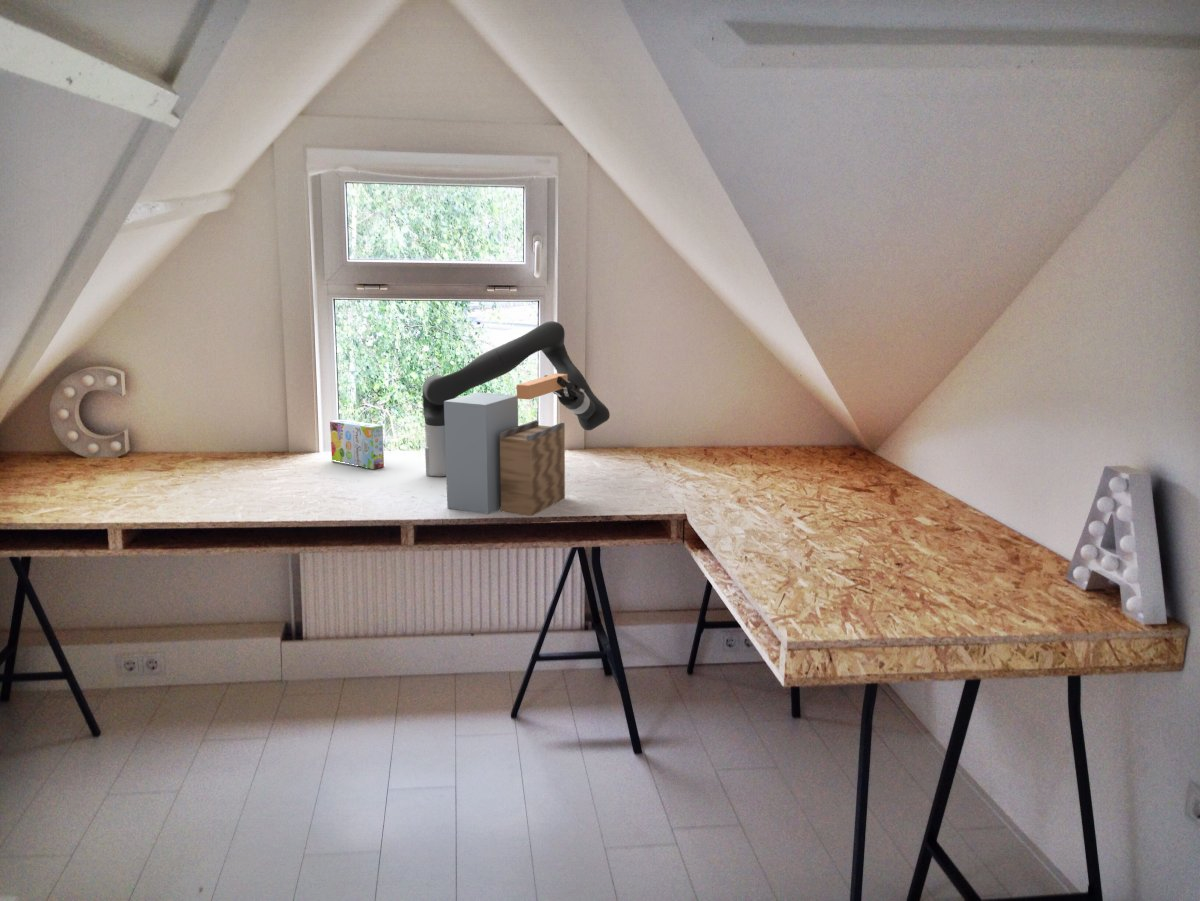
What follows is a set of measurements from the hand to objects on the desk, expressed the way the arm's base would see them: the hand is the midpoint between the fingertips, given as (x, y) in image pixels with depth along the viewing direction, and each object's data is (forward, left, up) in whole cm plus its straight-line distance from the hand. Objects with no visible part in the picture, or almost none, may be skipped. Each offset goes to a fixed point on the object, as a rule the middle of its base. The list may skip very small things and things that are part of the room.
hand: (551, 378), depth 284 cm
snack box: (-67, +45, -37) cm, 88 cm away
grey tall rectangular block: (-21, -8, -36) cm, 43 cm away
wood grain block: (-6, -10, -36) cm, 38 cm away
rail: (-3, -5, -3) cm, 7 cm away
